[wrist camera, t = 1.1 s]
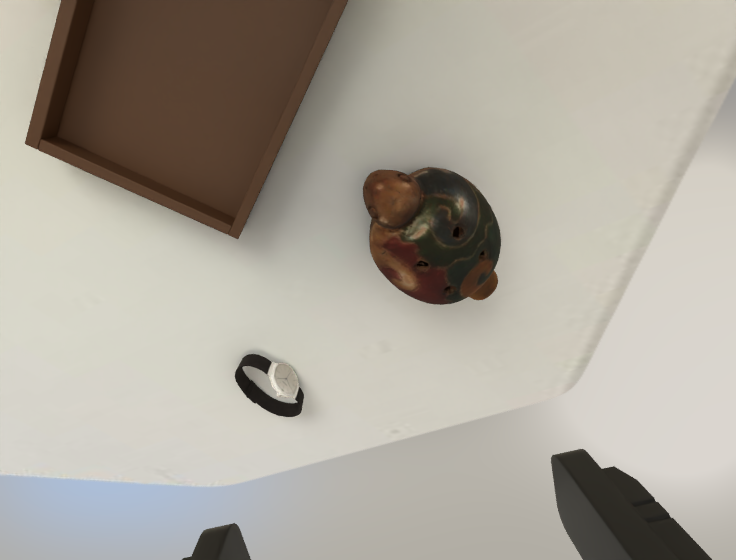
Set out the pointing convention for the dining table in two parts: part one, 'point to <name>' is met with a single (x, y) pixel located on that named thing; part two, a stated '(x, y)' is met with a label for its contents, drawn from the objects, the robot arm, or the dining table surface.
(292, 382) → the watch
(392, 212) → the decorative turtle
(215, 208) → the tray
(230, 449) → the dining table surface
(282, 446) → the dining table surface
